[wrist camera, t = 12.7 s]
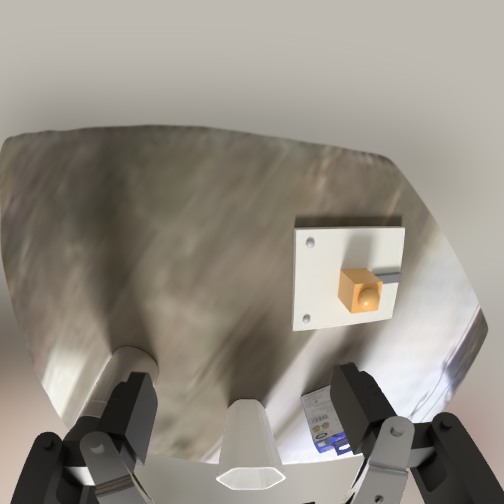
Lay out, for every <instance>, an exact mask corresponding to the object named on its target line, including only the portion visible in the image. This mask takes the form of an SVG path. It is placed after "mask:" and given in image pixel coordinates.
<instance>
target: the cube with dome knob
mask: <svg viewBox="0 0 504 504" xmlns="http://www.w3.org/2000/svg"><path fill="white" fill-rule="evenodd" d="M382 284H383V281H382V280H380V279H379V278H378V277H376V276H375V275H374V274H373V273H371V272H370V271H369V270H368V269H366V268H363V269H348V270H340V278H339V288H338V298H339V299H340V301H341V302H342V303H343V304H344V306H345V307H346V308H347V310H348V311H349V312H350V313H351V314H353V313H361V312H369V311H376V310H378V308H379V302H380V297H381V291H382Z"/></svg>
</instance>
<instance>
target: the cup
mask: <svg viewBox="0 0 504 504" xmlns="http://www.w3.org/2000/svg"><path fill="white" fill-rule="evenodd" d="M285 478H286V474H285V471H284V468H283V465H282V462H281V459H280V456H279V453H278V450H277V447H276V443H275V440H274V437H273V434H272V431H271V427H270V424H269V421H268V418H267V414H266V411H265V408H264V407H263V406H262V404H261V403H260V402H259V401H258V400H255V399H239V400H236V401H235V402H234V403H233V404H232V405H231V406H230V407H229V408H228V412H227V418H226V424H225V430H224V436H223V441H222V447H221V453H220V459H219V464H218V470H217V476H216V480H217V481H219V482H221V483H222V484H224V485H225V486H227V487H229V488H230V489H234V490H261V489H267V488H269V487H271V486H273V485H275V484H277V483H279V482H281V481H282V480H284V479H285Z"/></svg>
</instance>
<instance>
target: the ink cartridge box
mask: <svg viewBox="0 0 504 504" xmlns="http://www.w3.org/2000/svg"><path fill="white" fill-rule="evenodd" d="M330 387H331V385H329V386H326V387H324V388H322V389H319V390H316V391H314V392H311V393H309V394H306V395H304V396H301V400H302V403H303V407H304V411H305V414H306V418H307V422H308V425H309V428H310V432H311V435H312V439H313V442H314V445H315V447H316V448H317V450H318V452H319V453H323V452H326V451H328V450H331V449H334V448H335V450H336V452H337V455H338V456H339V455H341V454H344V453H346V452H349V451H351V450H352V449H351V447H349V448H347V449H344V450H339V447H341V446H344V445H346V444H349V442H348V440H347V437H346V435H345V433H344V430H343V428H342V425H341V423H340V421H339V418H338V416H337V414H336V411H335V409H334V406H333V404H332V402H331V398H330Z"/></svg>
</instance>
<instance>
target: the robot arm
mask: <svg viewBox="0 0 504 504" xmlns="http://www.w3.org/2000/svg"><path fill="white" fill-rule="evenodd" d="M158 374H159V370H158V366H157V364H156V362H155V361H154V360H153V358H152V357H151V356H149V355H148V354H147V353H146V352H144V351H142V350H140V349H138V348H135V347H129V346H127V347H121V348H119V349H117V350H116V351H115V352H114V354H113V355H112V357H111V359H110V361H109V362H108V364H107V366H106V367H105V369H104V371H103V373H102V374H101V376H100V378H99V380H98V382H97V383H96V385H95V387H94V389H93V391H92V393H91V395H90V396H89V398H88V400H87V402H86V404H85V406H84V408H83V410H82V412H81V414H80V416H79V418H78V420H77V422H76V424H75V425H74V426H73V428H72V429H71V430H70V431H69V432H68V433H67V435H66V436H65V438H64V439H63V441H62V440H61V439H60V437H59V436H58V435H57V434H55V433H53V432H44V433H41V434H40V435H39V436H37V438H36V439H35V441H34V443H33V446H32V448H31V450H30V452H29V455H28V457H27V459H26V462H25V464H24V467H23V469H22V472H21V474H20V477H19V480H18V483H17V485H16V488H15V491H14V494H13V497H12V500H11V503H10V504H155V503H154V502H153V501H152V499H151V497H150V496H149V495H148V493H147V492H146V490H145V489H144V487H143V485H142V484H141V482H140V481H139V479H138V478H137V476H136V475H135V473H134V468H135V465H141V466H144V463H145V459H146V454H147V450H148V445H149V441H150V437H151V432H152V428H153V424H154V420H155V416H156V412H157V406H158V401H157V395H156V392H155V389H154V388H155V385H156V384H155V383H156V380H157V377H158ZM330 398H331V402H332V404H333V406H334V409H335V411H336V414H337V416H338V418H339V421H340V423H341V425H342V428H343V430H344V433H345V435H346V437H347V440H348V442H349V445H350V447H351V449H352V452H353V454H354V455H356V454H359V453H363V455H364V459H363V461H362V464H361V466H360V468H359V471H358V473H357V475H356V477H355V479H354V482H353V484H352V486H351V488H350V490H349V492H348V494H347V495H346V497H345V499H344V500H343V502H342V504H400V501H401V498H402V495H403V492H404V489H405V486H406V482H407V479H408V472H407V471H406V468H410V470H411V472H412V474H413V477H414V479H415V481H416V484H417V486H418V488H419V491H420V493H421V495H422V498H423V500H424V502H425V504H504V491H503V489H502V488H501V486H500V484H499V482H498V480H497V479H496V477H495V475H494V474H493V472H492V470H491V468H490V467H489V465H488V464H487V462H486V460H485V459H484V457H483V456H482V454H481V452H480V451H479V449H478V448H477V446H476V445H475V443H474V441H473V440H472V438H471V437H470V435H469V434H468V432H467V431H466V429H465V428H464V426H463V425H462V423H461V422H460V421H459V419H458V418H457V417H456V416H455V415H453V414H452V413H448V412H442V413H439V414H437V415H436V416H435V417H434V418H433V420H432V422H425V423H412V422H411V421H410V420H409V419H407V418H405V417H402V416H397V414H396V413H395V411H394V409H393V408H392V406H391V405H390V403H389V401H388V400H387V398H386V397H385V395H384V394H383V393H382V390H381V389H380V387H379V386H378V384H377V383H376V381H375V380H374V378H373V377H372V376H371V375H369V374H368V373H367V372H365V371H361V372H359V370H358V369H357V367H356V366H355V364H354V363H353V362H349V363H343V364H337V365H336V366H335V368H334V373H333V378H332V382H331V387H330ZM305 504H315V502H310V503H305Z"/></svg>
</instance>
